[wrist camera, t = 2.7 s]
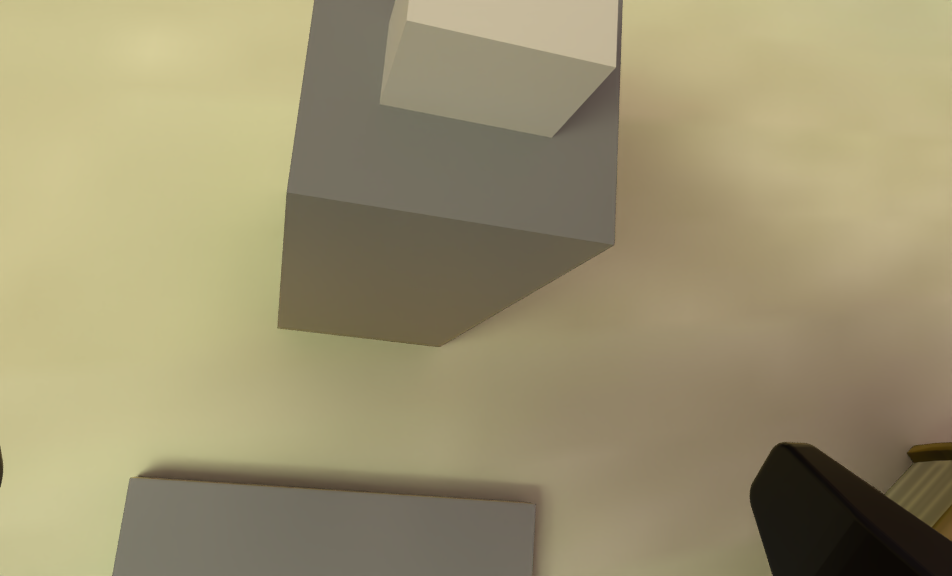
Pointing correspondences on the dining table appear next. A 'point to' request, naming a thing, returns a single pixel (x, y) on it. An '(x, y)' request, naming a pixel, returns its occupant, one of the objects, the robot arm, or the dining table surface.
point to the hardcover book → (927, 486)
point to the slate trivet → (316, 532)
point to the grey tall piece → (447, 161)
